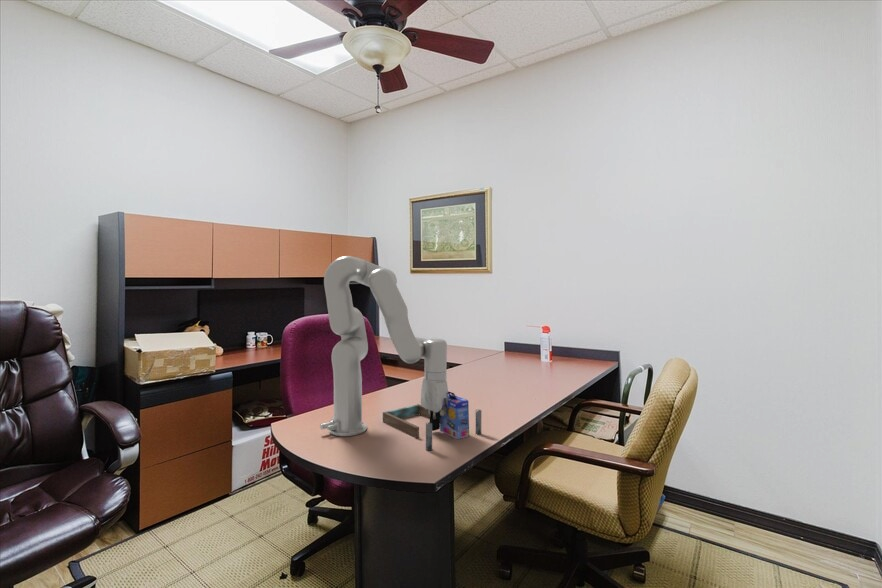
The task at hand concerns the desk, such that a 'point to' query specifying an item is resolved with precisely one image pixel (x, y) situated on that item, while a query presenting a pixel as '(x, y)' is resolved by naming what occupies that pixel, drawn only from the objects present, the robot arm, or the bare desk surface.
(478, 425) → the post right
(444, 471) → the desk surface
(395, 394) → the desk surface
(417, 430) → the channel
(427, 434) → the post left
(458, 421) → the ink cartridge box
